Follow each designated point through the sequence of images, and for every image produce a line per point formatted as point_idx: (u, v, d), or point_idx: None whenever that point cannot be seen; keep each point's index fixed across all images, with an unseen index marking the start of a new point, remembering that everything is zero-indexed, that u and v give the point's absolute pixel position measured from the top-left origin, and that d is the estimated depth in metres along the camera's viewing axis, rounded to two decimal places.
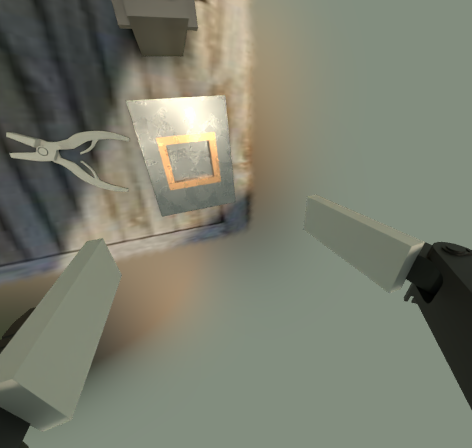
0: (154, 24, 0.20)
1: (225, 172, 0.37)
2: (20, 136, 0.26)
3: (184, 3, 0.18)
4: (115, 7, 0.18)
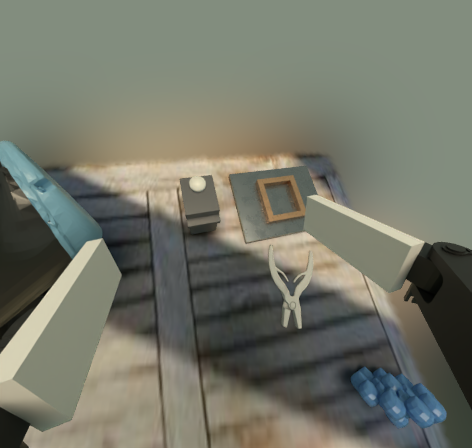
0: None
1: (283, 173, 0.43)
2: (284, 317, 0.33)
3: (205, 177, 0.28)
4: (212, 221, 0.28)
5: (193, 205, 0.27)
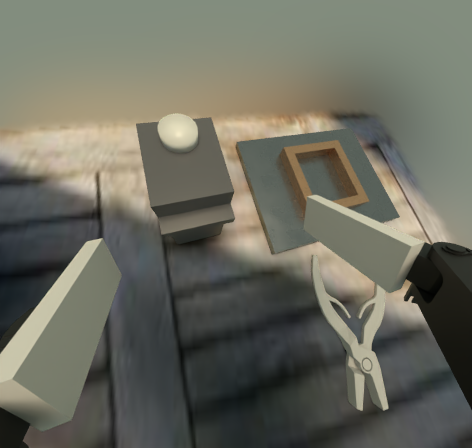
0: None
1: (320, 140, 0.28)
2: (356, 391, 0.18)
3: (196, 121, 0.13)
4: (217, 219, 0.13)
5: (170, 182, 0.11)
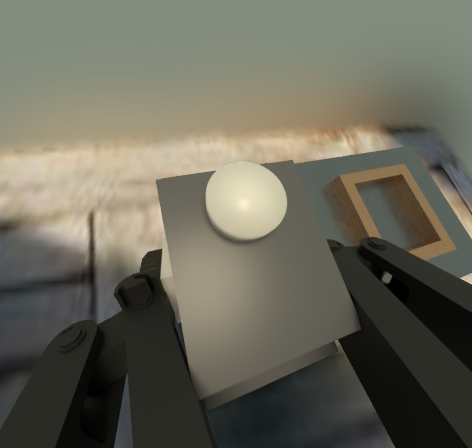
0: None
1: (377, 162, 0.22)
2: None
3: (269, 168, 0.07)
4: (307, 357, 0.06)
5: (234, 321, 0.05)
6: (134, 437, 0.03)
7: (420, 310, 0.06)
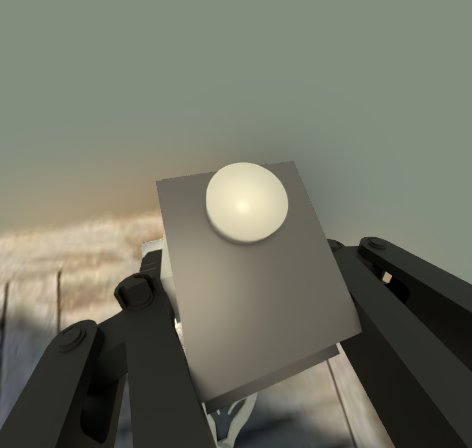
0: None
1: None
2: None
3: (269, 169, 0.07)
4: (308, 360, 0.06)
5: (235, 324, 0.05)
6: (134, 437, 0.03)
7: (420, 310, 0.06)
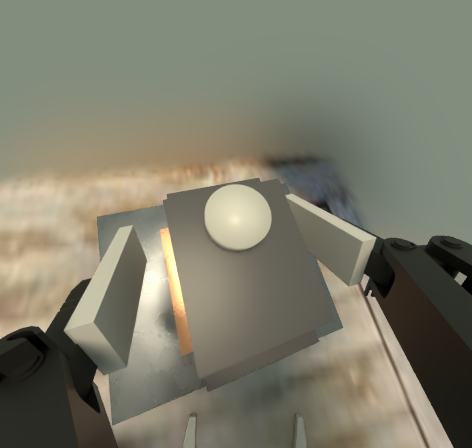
0: None
1: None
2: None
3: (258, 186, 0.08)
4: (292, 346, 0.08)
5: (229, 316, 0.06)
6: None
7: None
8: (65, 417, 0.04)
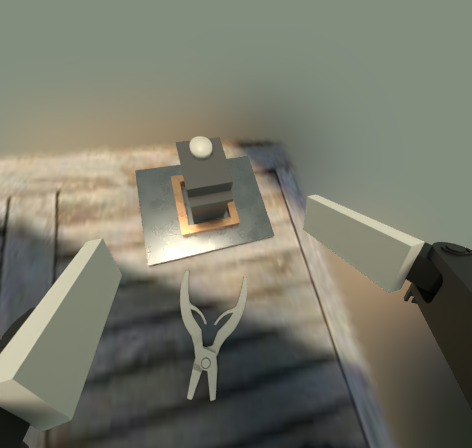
0: None
1: None
2: (190, 384, 0.22)
3: (210, 139, 0.21)
4: (223, 199, 0.21)
5: (196, 176, 0.19)
6: None
7: None
8: None
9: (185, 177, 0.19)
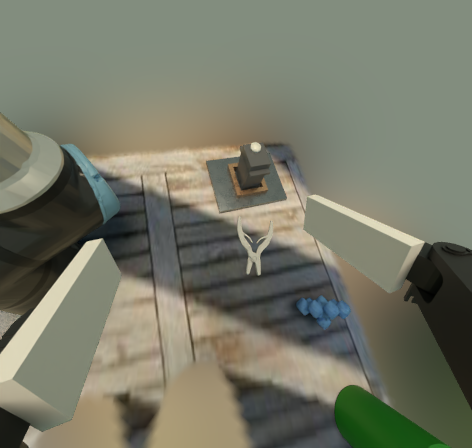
0: None
1: None
2: (247, 267, 0.44)
3: (259, 143, 0.43)
4: (265, 172, 0.42)
5: (254, 161, 0.41)
6: None
7: None
8: None
9: (249, 161, 0.41)
